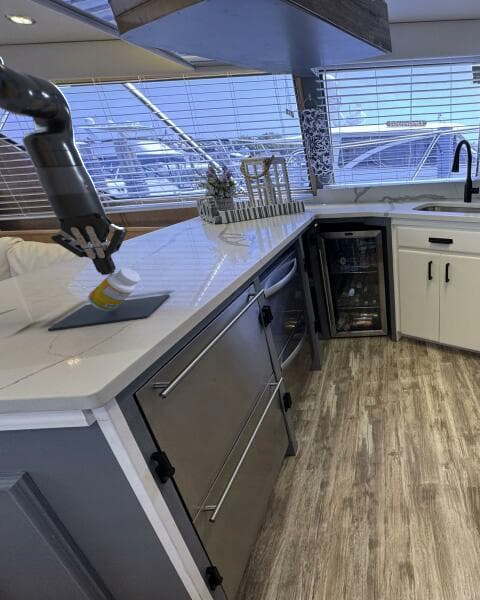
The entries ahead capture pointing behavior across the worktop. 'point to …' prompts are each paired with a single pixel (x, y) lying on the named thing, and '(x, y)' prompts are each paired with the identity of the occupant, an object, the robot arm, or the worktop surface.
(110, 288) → the supplement bottle
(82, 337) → the worktop surface
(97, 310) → the rubber mat
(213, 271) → the worktop surface
